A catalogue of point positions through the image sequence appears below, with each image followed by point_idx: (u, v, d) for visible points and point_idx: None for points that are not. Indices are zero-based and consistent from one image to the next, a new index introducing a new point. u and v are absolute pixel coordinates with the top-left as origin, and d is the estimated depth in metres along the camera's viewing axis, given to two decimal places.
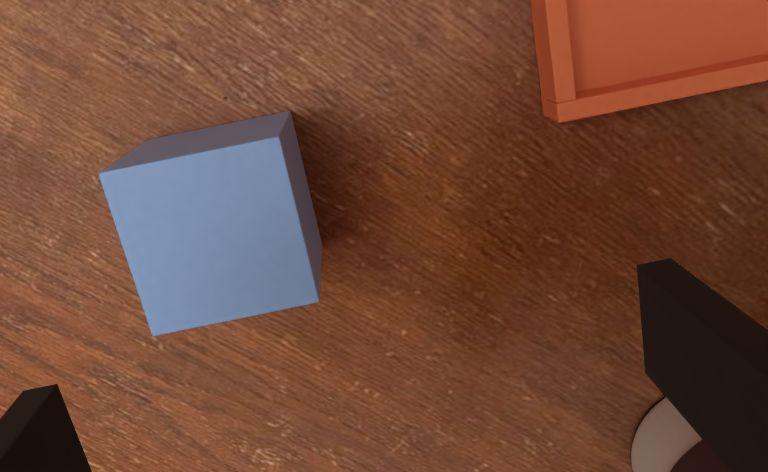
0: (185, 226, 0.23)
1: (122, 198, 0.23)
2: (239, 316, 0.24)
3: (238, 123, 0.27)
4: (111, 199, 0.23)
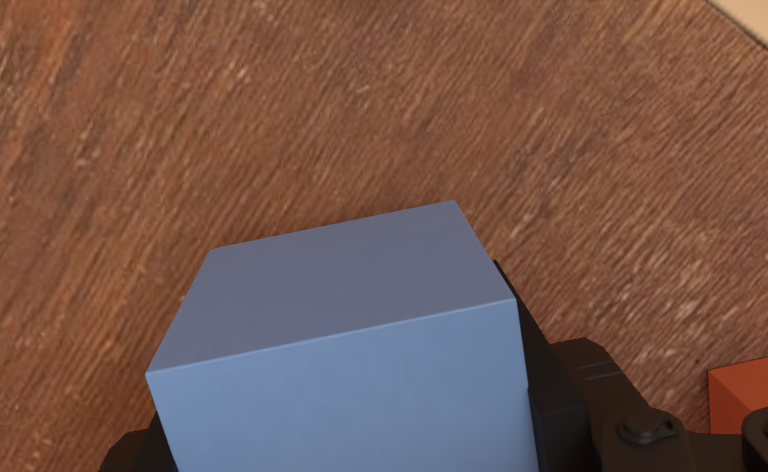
0: (398, 446, 0.12)
1: (461, 339, 0.11)
2: None
3: None
4: (459, 317, 0.11)
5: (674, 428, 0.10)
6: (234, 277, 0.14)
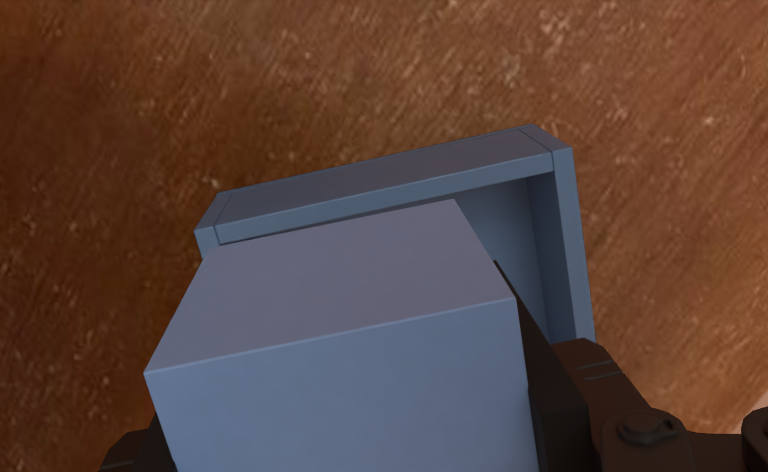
0: (397, 445, 0.12)
1: (461, 338, 0.11)
2: None
3: None
4: (459, 316, 0.11)
5: (674, 428, 0.10)
6: (233, 276, 0.14)
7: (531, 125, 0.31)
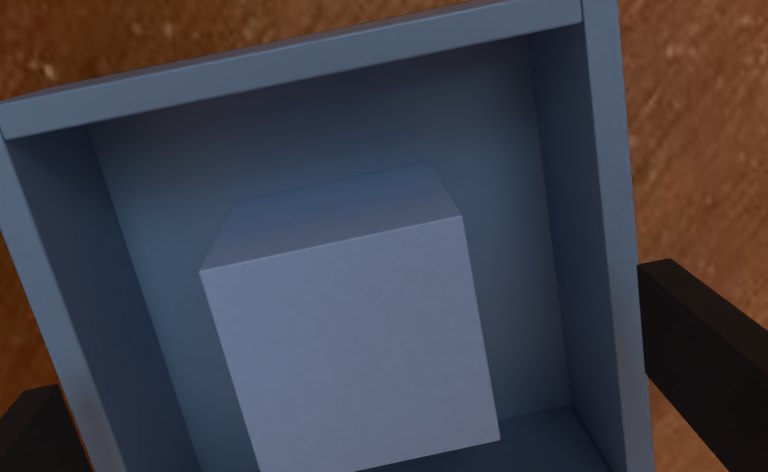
0: (380, 326, 0.16)
1: (424, 245, 0.15)
2: (239, 393, 0.16)
3: None
4: (422, 229, 0.15)
5: None
6: (256, 216, 0.19)
7: None
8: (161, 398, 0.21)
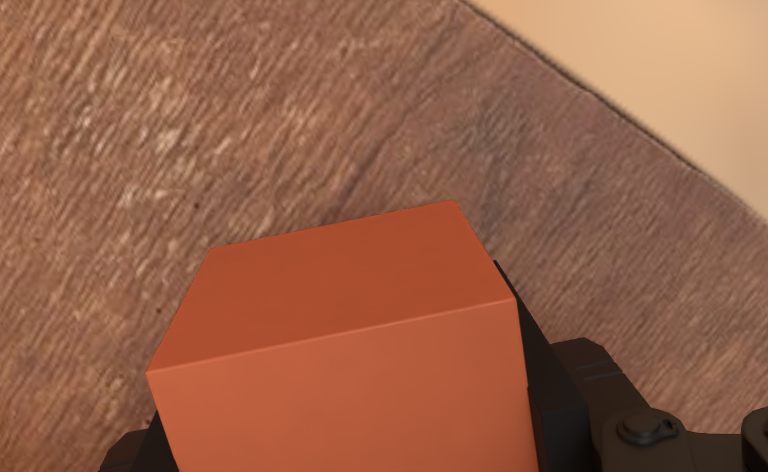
0: None
1: None
2: None
3: None
4: None
5: (674, 428, 0.10)
6: None
7: None
8: None
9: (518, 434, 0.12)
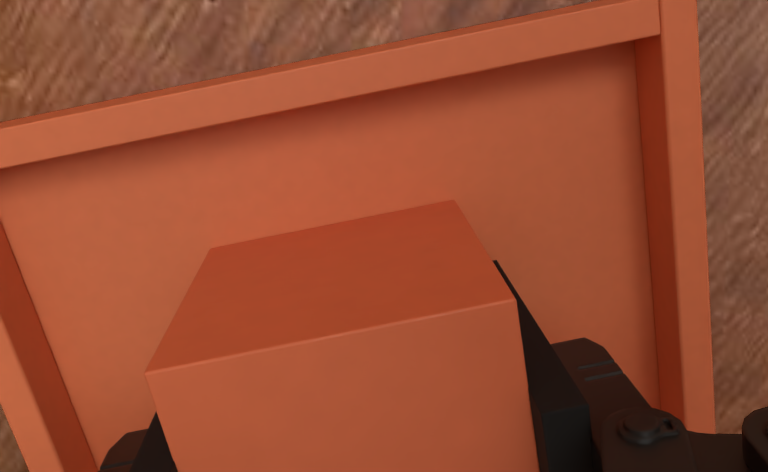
0: None
1: None
2: None
3: None
4: None
5: (674, 427, 0.10)
6: None
7: None
8: None
9: (518, 435, 0.12)
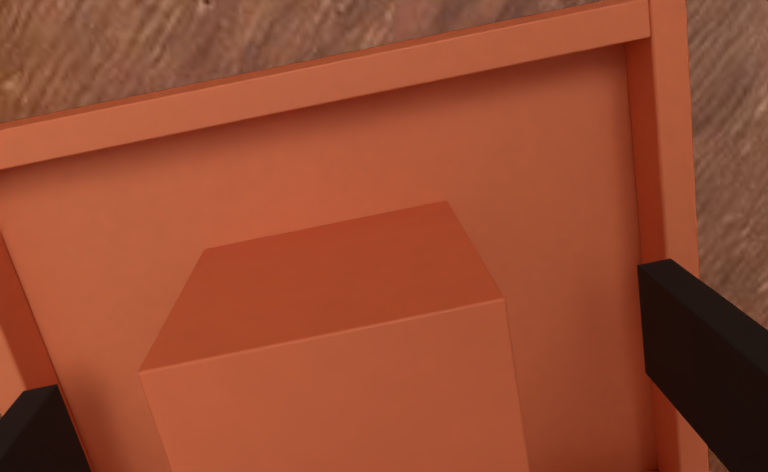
0: None
1: None
2: None
3: None
4: None
5: None
6: None
7: None
8: None
9: (508, 433, 0.12)
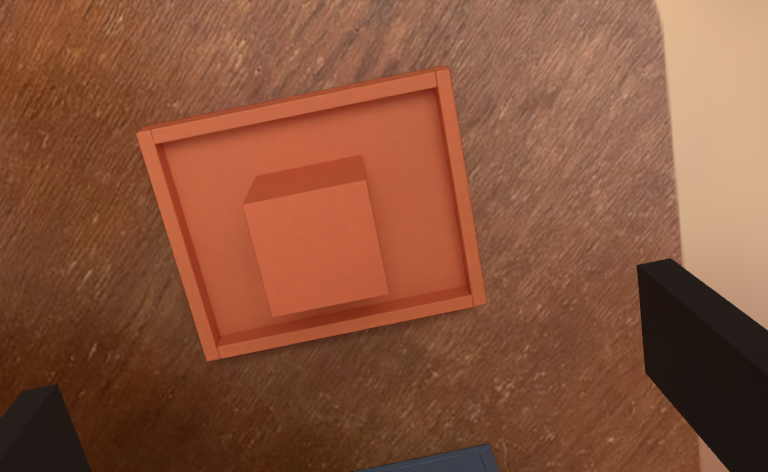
0: None
1: None
2: None
3: None
4: None
5: None
6: None
7: (488, 447, 0.45)
8: None
9: (370, 230, 0.33)
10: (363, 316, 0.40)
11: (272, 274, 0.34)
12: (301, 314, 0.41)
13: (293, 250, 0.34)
